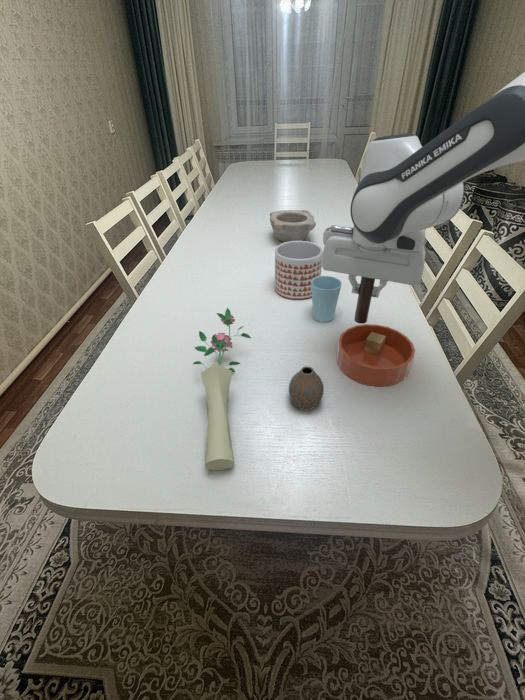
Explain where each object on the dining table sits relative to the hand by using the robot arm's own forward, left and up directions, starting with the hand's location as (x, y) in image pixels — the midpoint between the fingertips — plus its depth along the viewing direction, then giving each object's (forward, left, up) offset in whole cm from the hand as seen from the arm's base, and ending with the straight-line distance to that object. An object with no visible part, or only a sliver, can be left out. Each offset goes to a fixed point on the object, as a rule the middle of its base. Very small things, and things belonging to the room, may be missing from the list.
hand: (365, 294), depth 77 cm
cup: (+11, -10, -15) cm, 22 cm away
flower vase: (+21, +28, -15) cm, 38 cm away
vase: (+5, +22, -15) cm, 27 cm away
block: (-4, -1, -14) cm, 15 cm away
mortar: (+39, -59, -15) cm, 73 cm away
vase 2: (+23, -22, -15) cm, 36 cm away
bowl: (-5, +4, -15) cm, 16 cm away
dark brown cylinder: (0, 0, -7) cm, 7 cm away
